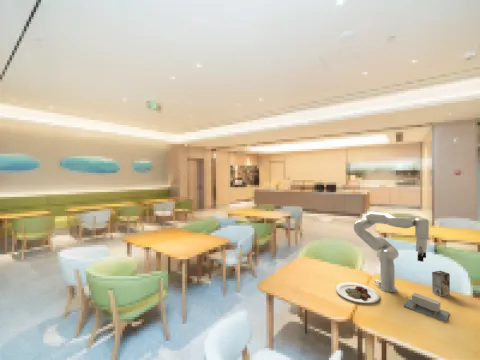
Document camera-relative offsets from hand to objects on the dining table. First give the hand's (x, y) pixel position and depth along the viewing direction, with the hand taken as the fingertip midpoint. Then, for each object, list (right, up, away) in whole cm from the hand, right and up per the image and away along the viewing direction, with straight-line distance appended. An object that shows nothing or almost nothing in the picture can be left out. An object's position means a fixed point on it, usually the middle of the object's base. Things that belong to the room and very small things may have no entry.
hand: (421, 259), depth 162 cm
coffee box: (+22, -30, +10) cm, 38 cm away
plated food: (-41, -31, +12) cm, 53 cm away
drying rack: (-6, -31, -10) cm, 33 cm away
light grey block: (-6, -28, -10) cm, 30 cm away
